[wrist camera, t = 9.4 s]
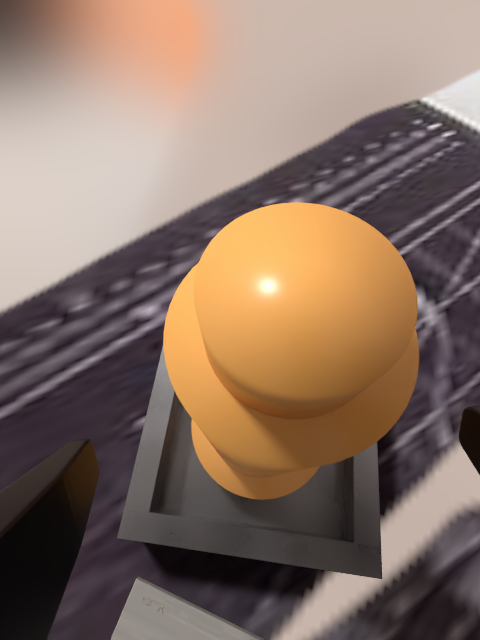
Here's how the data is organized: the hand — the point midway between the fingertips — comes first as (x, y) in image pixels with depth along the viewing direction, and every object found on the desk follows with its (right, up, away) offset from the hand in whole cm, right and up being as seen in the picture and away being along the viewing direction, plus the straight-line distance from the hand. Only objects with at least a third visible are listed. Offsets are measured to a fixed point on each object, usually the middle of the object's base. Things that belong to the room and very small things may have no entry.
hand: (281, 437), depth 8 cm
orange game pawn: (0, -2, +8) cm, 8 cm away
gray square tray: (0, -3, +9) cm, 9 cm away
